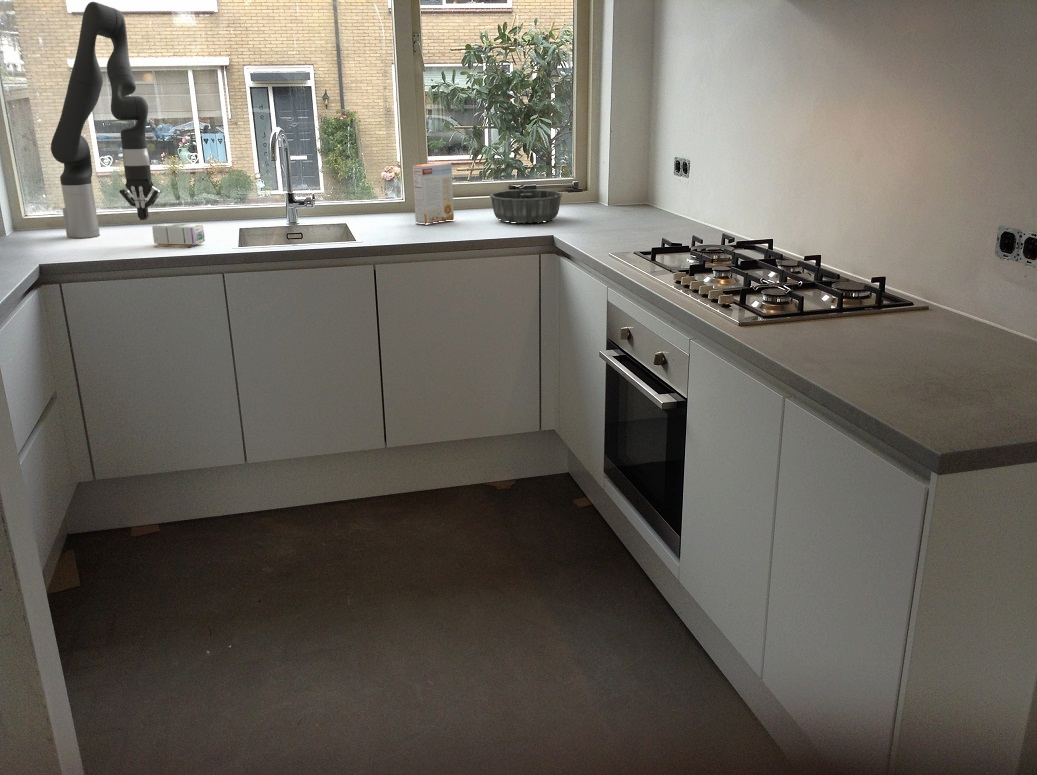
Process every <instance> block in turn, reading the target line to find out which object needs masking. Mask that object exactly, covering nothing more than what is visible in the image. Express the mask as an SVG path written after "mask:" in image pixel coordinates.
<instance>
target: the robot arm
mask: <svg viewBox="0 0 1037 775" xmlns="http://www.w3.org/2000/svg"><path fill="white" fill-rule="evenodd" d="M126 25H127V24H126V19H125V16H124V14H123V13H122V12H121V11H120V10H119V9H117V8H114V7H111V6H109V5H105V4H102V3H99V2H95V1H90V2H89V3H88V4H87V5H86V7H85V8H84V11H83V15H82V19H81V25H80V32H79V39H78V44H77V48H76V49H77V50H76V54H75V58H74V63H73V66H72V71H71V73H70V76H69V80H68V85H67V88H66V89H67V90H66V94H65V98H64V101H63V106H62V109H61V115H60V118H59V121H58V123H57V126H56V128H55V131H54V134H53V137H52V140H51V143H50V152H51V154H52V157H53V158H54V159H55V161H57V162H58V163H60V164H63V171H62V172H61V173H62V174H60V177H59V181H60V185H61V191H62V197H63V204H64V207H62V214H63V221H64V226H65V232H66V237H67V238H73V239H81V238H82V239H86V238H94V237H99V236H100V228H99V221H98V215H97V213H98V212H97V208H96V207H97V206H96V201H95V200H96V199H95V194H94V189H93V183H92V176H93V162H92V154H91V150H90V145H89V143H88V140H86V138H85V137H84V136H82V131H83V129H84V125H85V124H86V121H87V120H88V118H89V117H90V115H91V114H92V112H93V110H94V109H95V107H96V106H97V103H98V101H99V99H100V95H101V91H102V87H103V84H104V80H103V79H104V78H103V74H102V71H101V70H102V69H101V68H100V65H99V64H100V63H99V62H98V59H97V55H96V41H97V38H98V36H101V37H102V38H106V39H109V40H110V41H111V42H112V43H111V44H112V45H113V49H112V52H111V54H110V56H109V58H108V59H107V64H106V72H107V76H108V81H109V84H110V88H111V90H110V91H111V99H110V100H111V101H110V112H111V115H112V116H113V117H114V118H115V119H116V120H118V121H136V122H135V124H134V125H133V126H132V127H128V128H123V129H122V130H121V131H120V139H121V147H122V162H123V169H124V175H125V176H124V177H125V180H126V181H125V186H124V188H122V189H120V190H119V192H118V193H120V194H121V196H122V197H123V198H124V199H125V201H126V202H127V203H128V204H129V205H130V206H131V207H134V208H136V209H137V210H136V211H137V217H138V219H139V221H146V220H148V218H149V207H152V206H154V204H155V203H156V201H157V199H158V198H159V196H160V195H161V193H162V190H161V189H158V188H156V187H155V186H154V185H155V184H154V183H153V181H152V172H151V170H152V169H151V164H150V163H151V161H150V157H149V153H148V146H147V138H146V136H147V135H146V130H147V119H148V116H149V115H148V114H149V104H148V102H147V100H146V99H145V98H144V97H143V96H141V95H132V94H134V93H135V92H136V86H137V85H136V81H135V78H134V75H133V71H132V67H131V64H130V63H131V62H130V54H129V44H128V34H127V33H128V32H127V26H126ZM150 194H151V195H150ZM149 195H150V196H149Z"/></svg>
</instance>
